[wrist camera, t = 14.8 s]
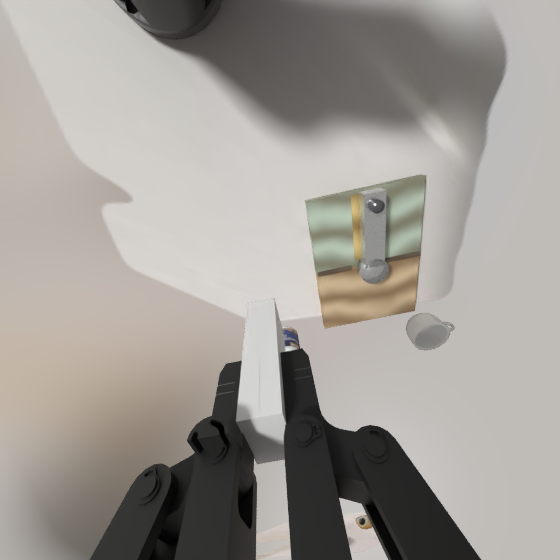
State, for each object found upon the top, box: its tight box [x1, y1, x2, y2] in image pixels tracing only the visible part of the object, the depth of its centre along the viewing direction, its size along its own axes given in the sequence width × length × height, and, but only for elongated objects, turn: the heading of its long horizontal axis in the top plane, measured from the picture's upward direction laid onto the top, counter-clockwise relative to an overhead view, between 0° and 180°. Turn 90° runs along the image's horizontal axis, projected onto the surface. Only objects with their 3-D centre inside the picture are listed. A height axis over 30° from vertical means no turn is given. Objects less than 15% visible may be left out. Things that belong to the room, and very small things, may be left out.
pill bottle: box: [282, 327, 300, 351], centre depth 53 cm, size 5×5×10 cm
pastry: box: [356, 515, 372, 529], centre depth 112 cm, size 9×7×4 cm
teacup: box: [406, 313, 455, 350], centre depth 55 cm, size 10×8×5 cm
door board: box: [305, 175, 426, 328], centre depth 48 cm, size 28×20×2 cm
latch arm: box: [357, 188, 389, 284], centre depth 42 cm, size 16×5×4 cm, turn 11°
